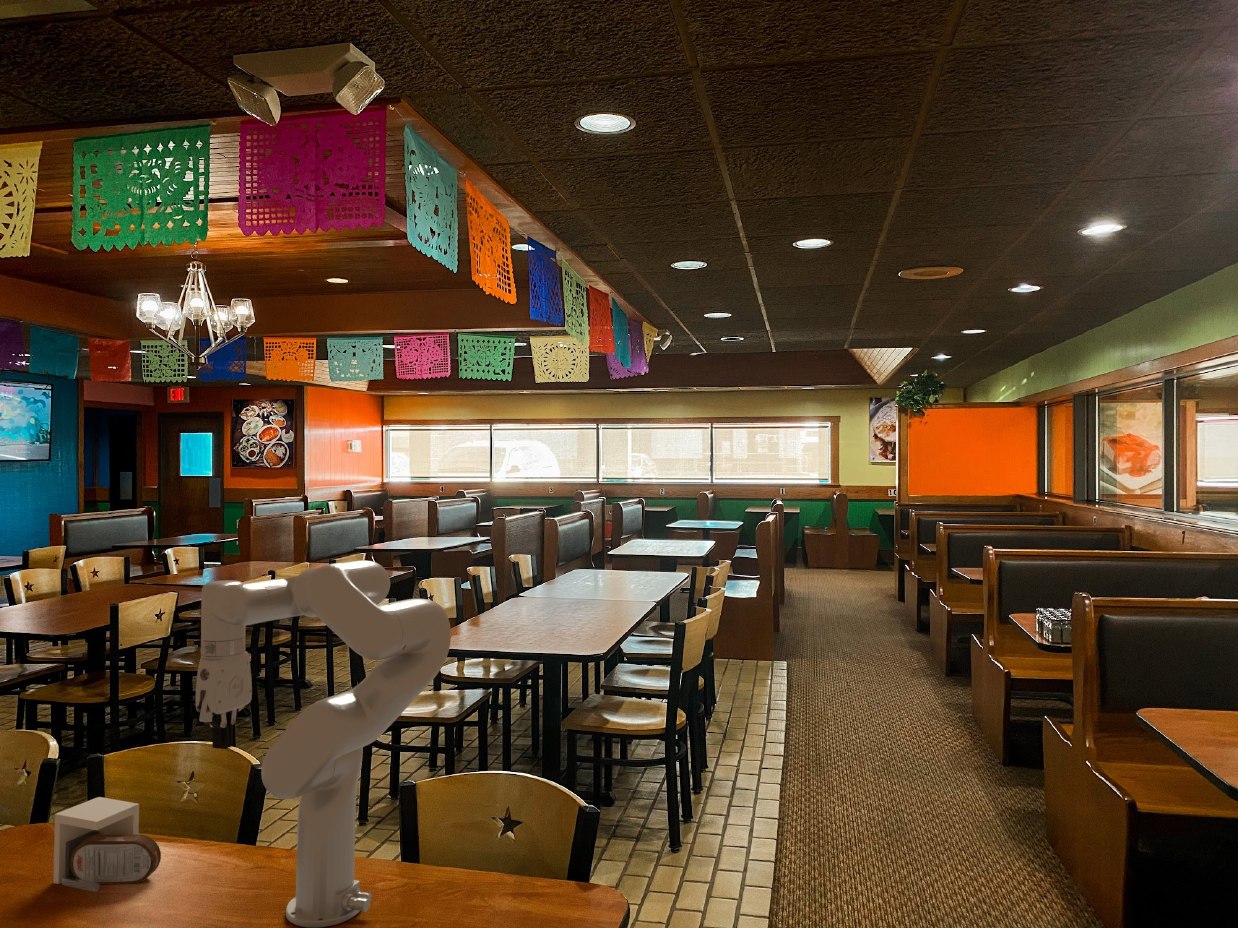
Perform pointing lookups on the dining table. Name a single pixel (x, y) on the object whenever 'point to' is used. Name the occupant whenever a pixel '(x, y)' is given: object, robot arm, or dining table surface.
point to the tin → (115, 858)
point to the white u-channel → (89, 832)
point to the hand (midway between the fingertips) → (222, 746)
